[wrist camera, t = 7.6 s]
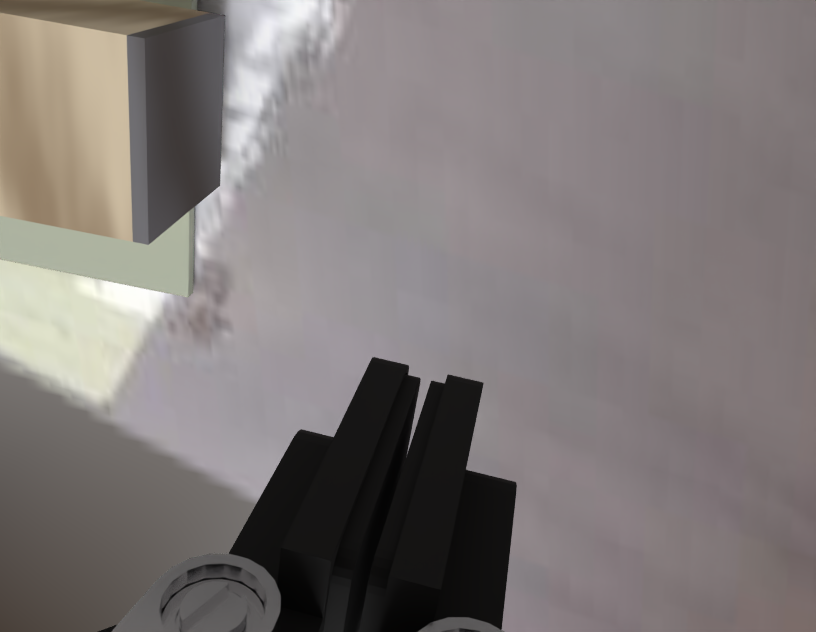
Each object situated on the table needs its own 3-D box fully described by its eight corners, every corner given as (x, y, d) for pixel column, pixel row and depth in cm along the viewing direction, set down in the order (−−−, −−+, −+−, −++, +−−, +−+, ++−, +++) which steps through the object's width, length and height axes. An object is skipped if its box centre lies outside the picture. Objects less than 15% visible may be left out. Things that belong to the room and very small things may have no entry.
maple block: (144, 38, 20) (-206, -25, 21) (148, 244, 23) (-160, 184, 24) (225, 15, 25) (-57, -35, 26) (220, 185, 28) (-34, 137, 29)
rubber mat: (199, -163, 24) (193, -165, 23) (193, 292, 31) (188, 297, 31) (-161, -223, 24) (-174, -226, 24) (-83, 236, 32) (-91, 241, 31)
